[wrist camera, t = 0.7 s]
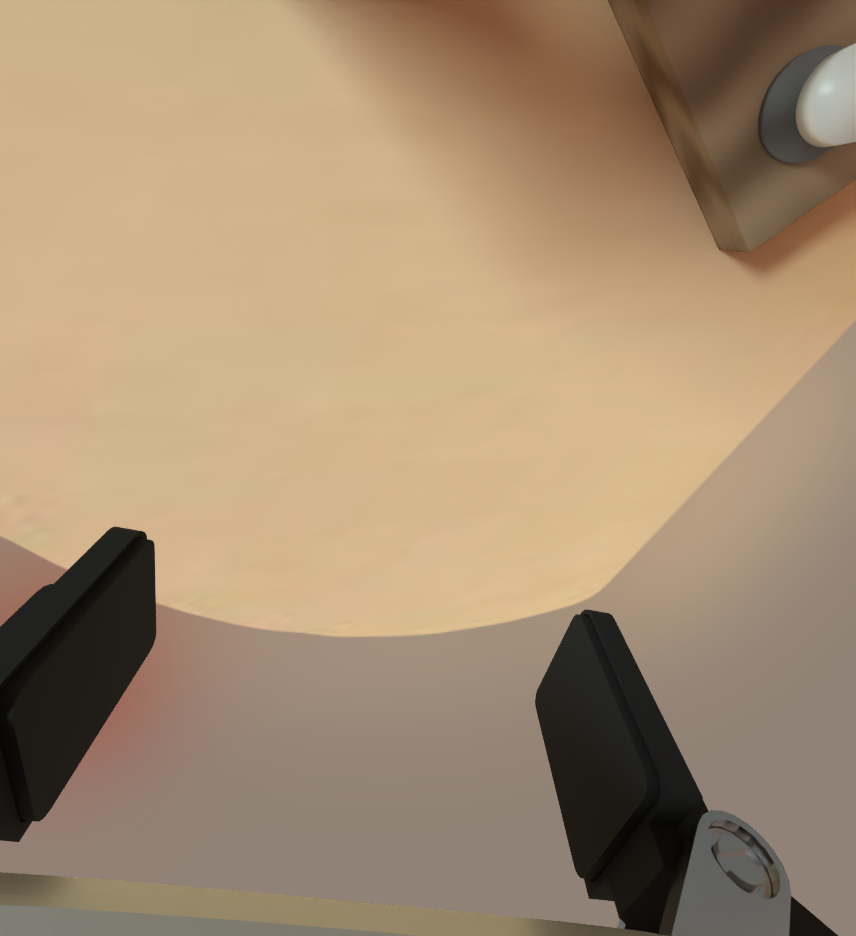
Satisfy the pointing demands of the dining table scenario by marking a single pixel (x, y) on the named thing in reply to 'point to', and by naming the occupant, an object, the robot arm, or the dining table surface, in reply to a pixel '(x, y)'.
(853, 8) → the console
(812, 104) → the button
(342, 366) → the dining table surface
